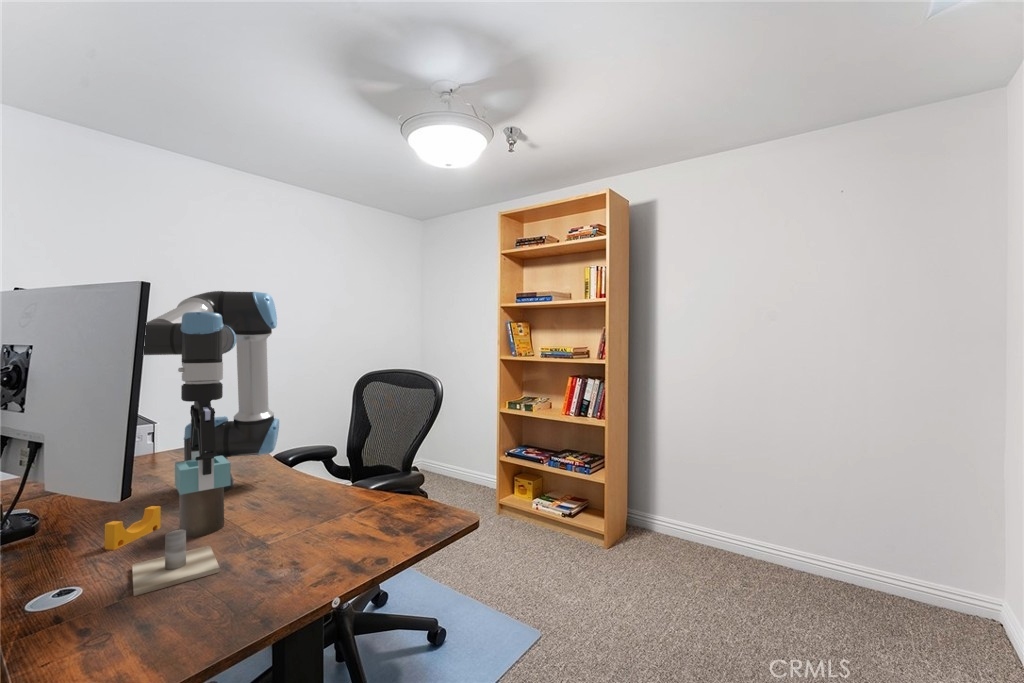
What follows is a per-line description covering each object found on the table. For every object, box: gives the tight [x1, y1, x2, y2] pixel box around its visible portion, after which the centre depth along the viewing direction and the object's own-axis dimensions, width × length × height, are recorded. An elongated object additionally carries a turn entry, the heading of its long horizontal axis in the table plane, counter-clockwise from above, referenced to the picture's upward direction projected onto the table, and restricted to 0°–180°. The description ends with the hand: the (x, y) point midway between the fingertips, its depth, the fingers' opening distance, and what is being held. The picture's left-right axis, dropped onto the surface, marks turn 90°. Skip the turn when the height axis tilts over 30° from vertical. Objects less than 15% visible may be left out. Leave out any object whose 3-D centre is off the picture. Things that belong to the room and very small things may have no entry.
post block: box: [131, 529, 221, 597], centre depth 96 cm, size 14×14×8 cm
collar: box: [174, 456, 232, 495], centre depth 100 cm, size 9×9×5 cm
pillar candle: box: [178, 487, 225, 538], centre depth 117 cm, size 10×10×15 cm
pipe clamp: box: [104, 505, 162, 551], centre depth 112 cm, size 12×4×6 cm, turn 173°
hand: (202, 484), depth 100 cm, fingers closed on collar, 9 cm apart
